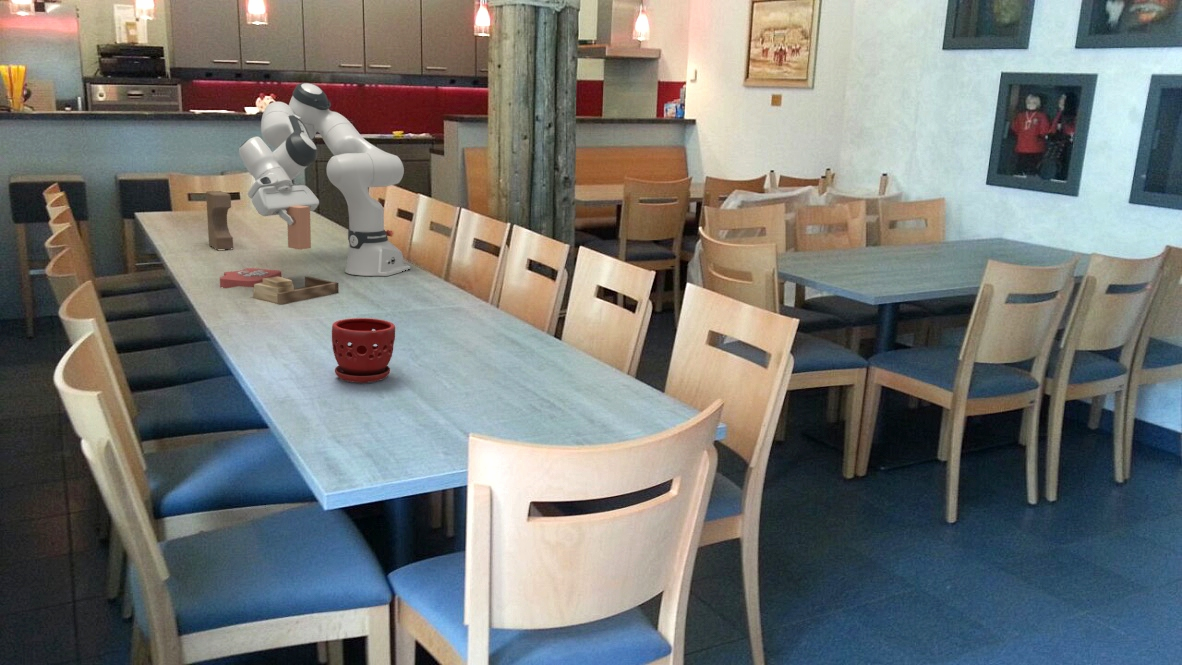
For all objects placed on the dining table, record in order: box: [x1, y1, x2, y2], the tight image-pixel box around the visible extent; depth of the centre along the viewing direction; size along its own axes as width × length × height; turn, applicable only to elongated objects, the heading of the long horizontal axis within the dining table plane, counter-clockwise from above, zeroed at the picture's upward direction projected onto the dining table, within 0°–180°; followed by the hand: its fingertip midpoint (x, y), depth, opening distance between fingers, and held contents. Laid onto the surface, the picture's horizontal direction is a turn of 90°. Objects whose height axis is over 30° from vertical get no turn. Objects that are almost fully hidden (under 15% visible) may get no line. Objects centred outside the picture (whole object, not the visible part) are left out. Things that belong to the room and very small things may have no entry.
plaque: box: [219, 267, 283, 289], centre depth 286 cm, size 18×4×15 cm
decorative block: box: [205, 190, 234, 250], centre depth 338 cm, size 11×6×20 cm, turn 36°
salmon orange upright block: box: [286, 205, 312, 251], centre depth 270 cm, size 4×5×12 cm
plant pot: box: [331, 317, 396, 384], centre depth 201 cm, size 13×13×12 cm
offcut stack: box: [252, 276, 295, 304], centre depth 263 cm, size 7×11×6 cm, turn 57°
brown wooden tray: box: [249, 276, 340, 305], centre depth 269 cm, size 21×13×4 cm, turn 147°
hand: (300, 223), depth 269 cm, fingers closed on salmon orange upright block, 4 cm apart
